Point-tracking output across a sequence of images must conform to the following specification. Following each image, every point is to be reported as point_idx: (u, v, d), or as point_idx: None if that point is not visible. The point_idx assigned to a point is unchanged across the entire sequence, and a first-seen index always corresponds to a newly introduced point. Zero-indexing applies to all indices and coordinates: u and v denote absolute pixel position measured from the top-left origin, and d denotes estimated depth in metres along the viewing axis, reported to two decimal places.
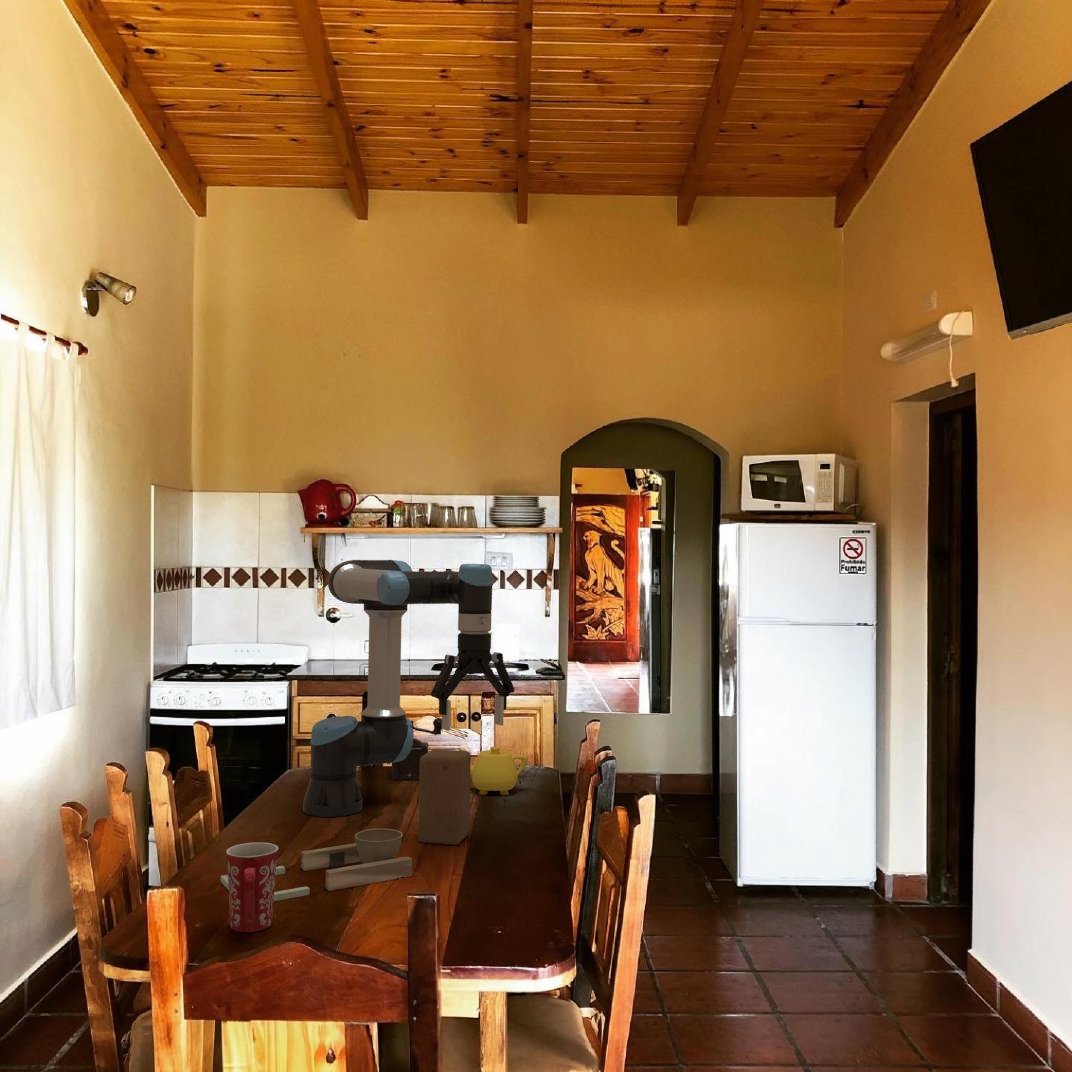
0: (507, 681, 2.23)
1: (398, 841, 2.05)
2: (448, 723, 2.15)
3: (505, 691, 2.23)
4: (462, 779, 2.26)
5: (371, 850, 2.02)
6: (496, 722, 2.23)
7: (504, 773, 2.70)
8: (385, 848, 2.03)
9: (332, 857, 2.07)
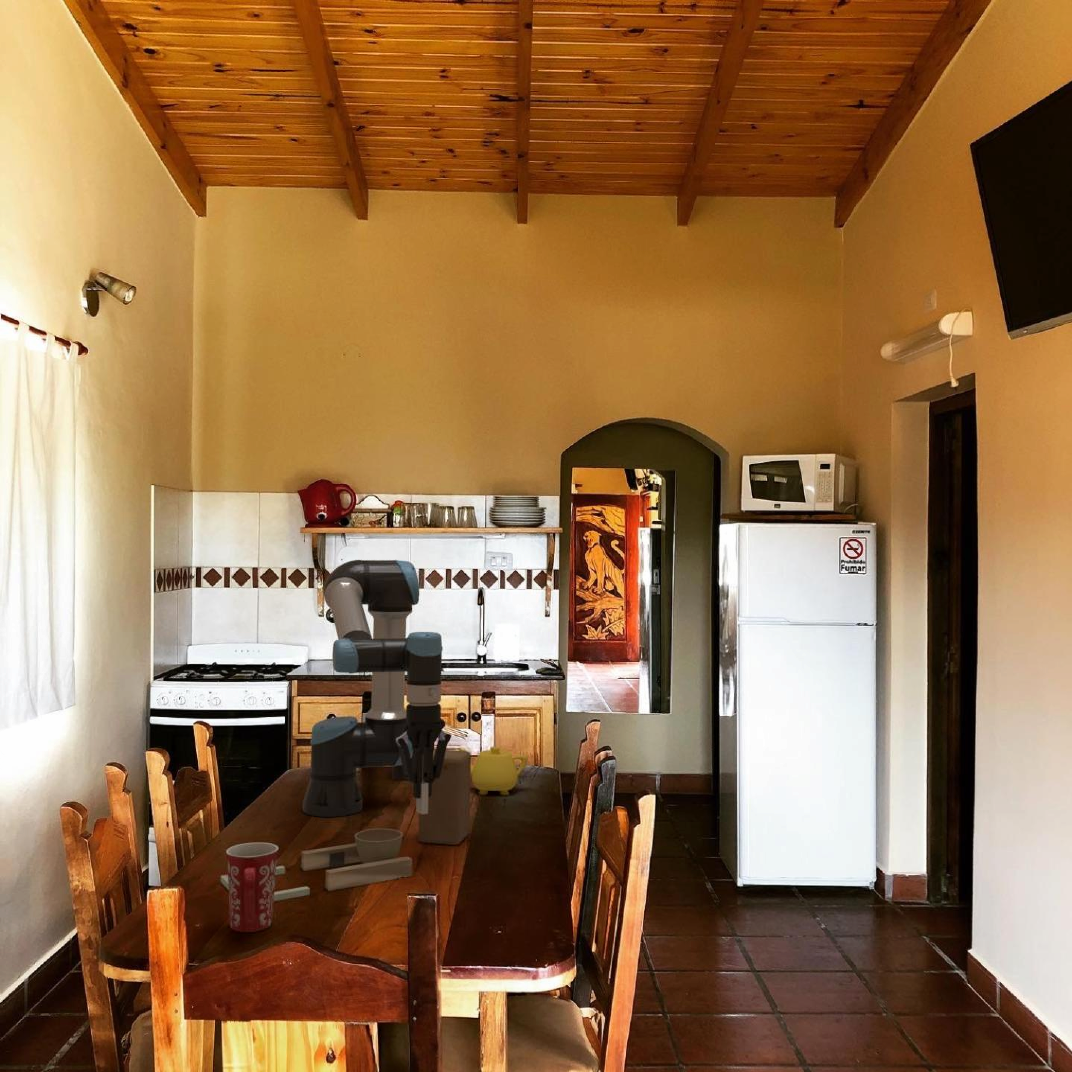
0: (439, 764, 2.13)
1: (398, 841, 2.05)
2: (422, 806, 2.11)
3: (431, 777, 2.12)
4: (462, 779, 2.26)
5: (371, 850, 2.02)
6: None
7: (504, 773, 2.70)
8: (385, 848, 2.03)
9: (332, 857, 2.07)
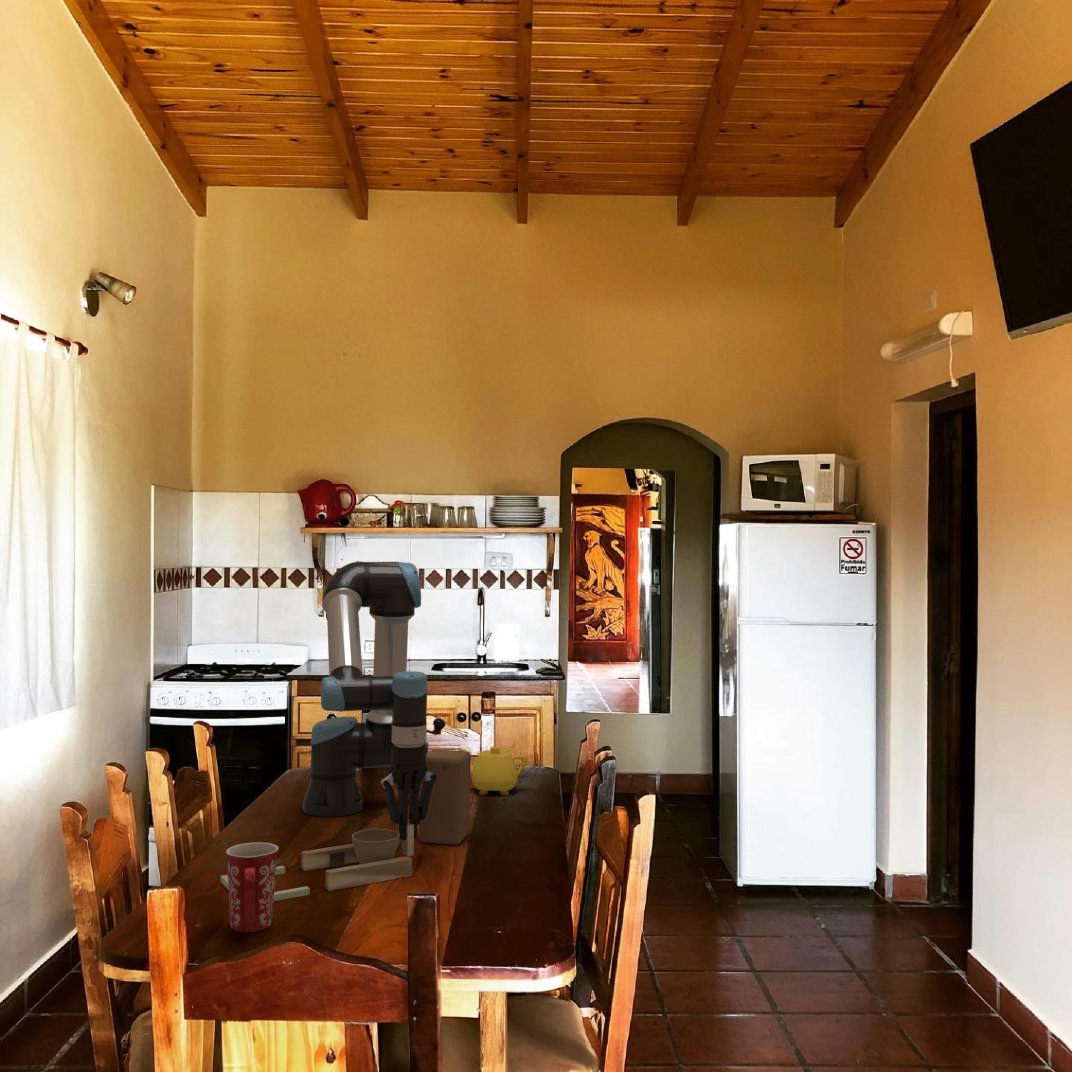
0: (424, 805, 2.12)
1: (395, 841, 2.04)
2: (408, 848, 2.09)
3: (416, 819, 2.10)
4: (462, 779, 2.26)
5: (368, 851, 2.02)
6: None
7: (504, 773, 2.70)
8: (382, 848, 2.02)
9: (332, 857, 2.07)
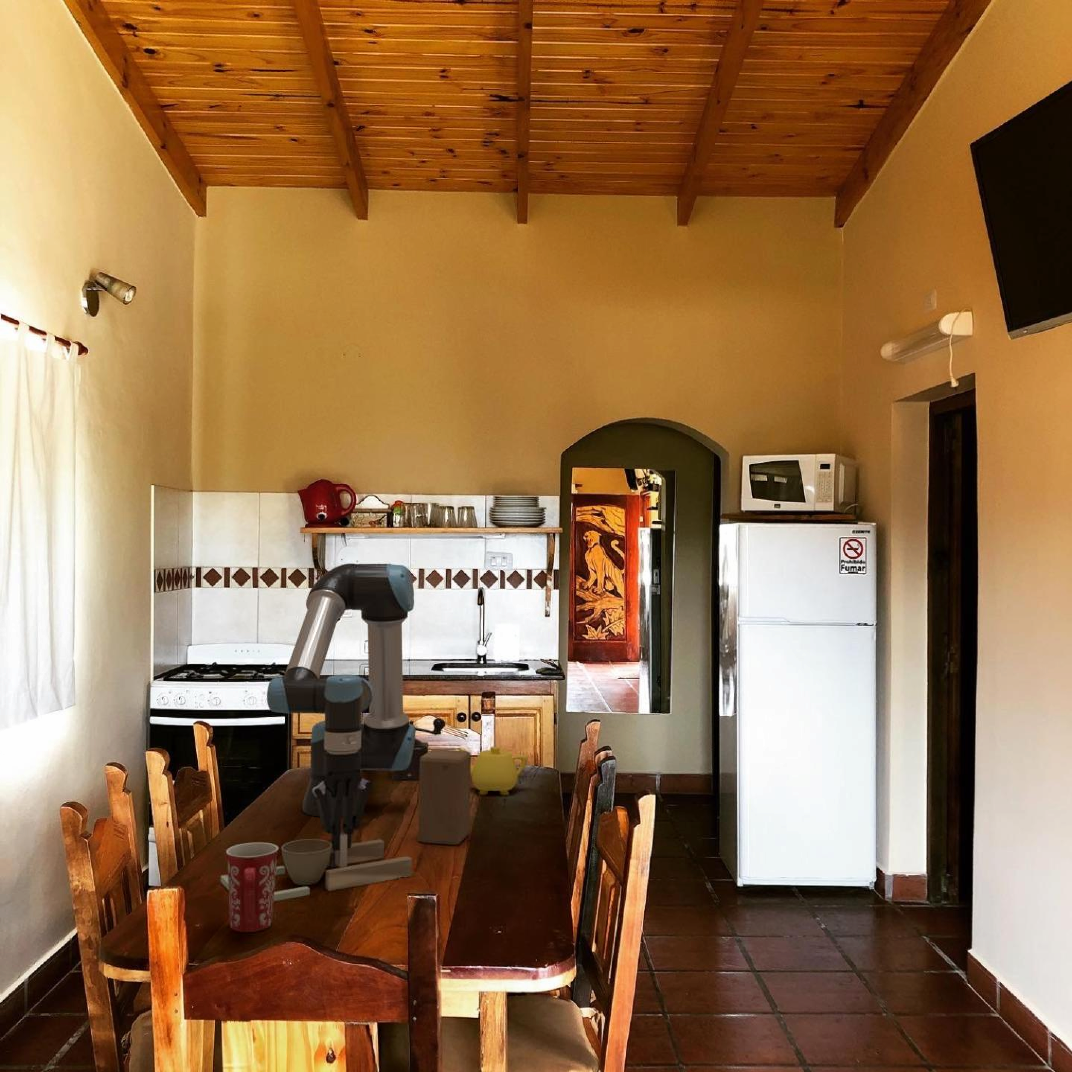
0: (359, 814, 2.03)
1: (325, 853, 1.96)
2: (341, 859, 2.01)
3: (350, 828, 2.02)
4: (462, 779, 2.26)
5: (296, 862, 1.94)
6: None
7: (504, 773, 2.70)
8: (311, 860, 1.94)
9: (332, 857, 2.07)
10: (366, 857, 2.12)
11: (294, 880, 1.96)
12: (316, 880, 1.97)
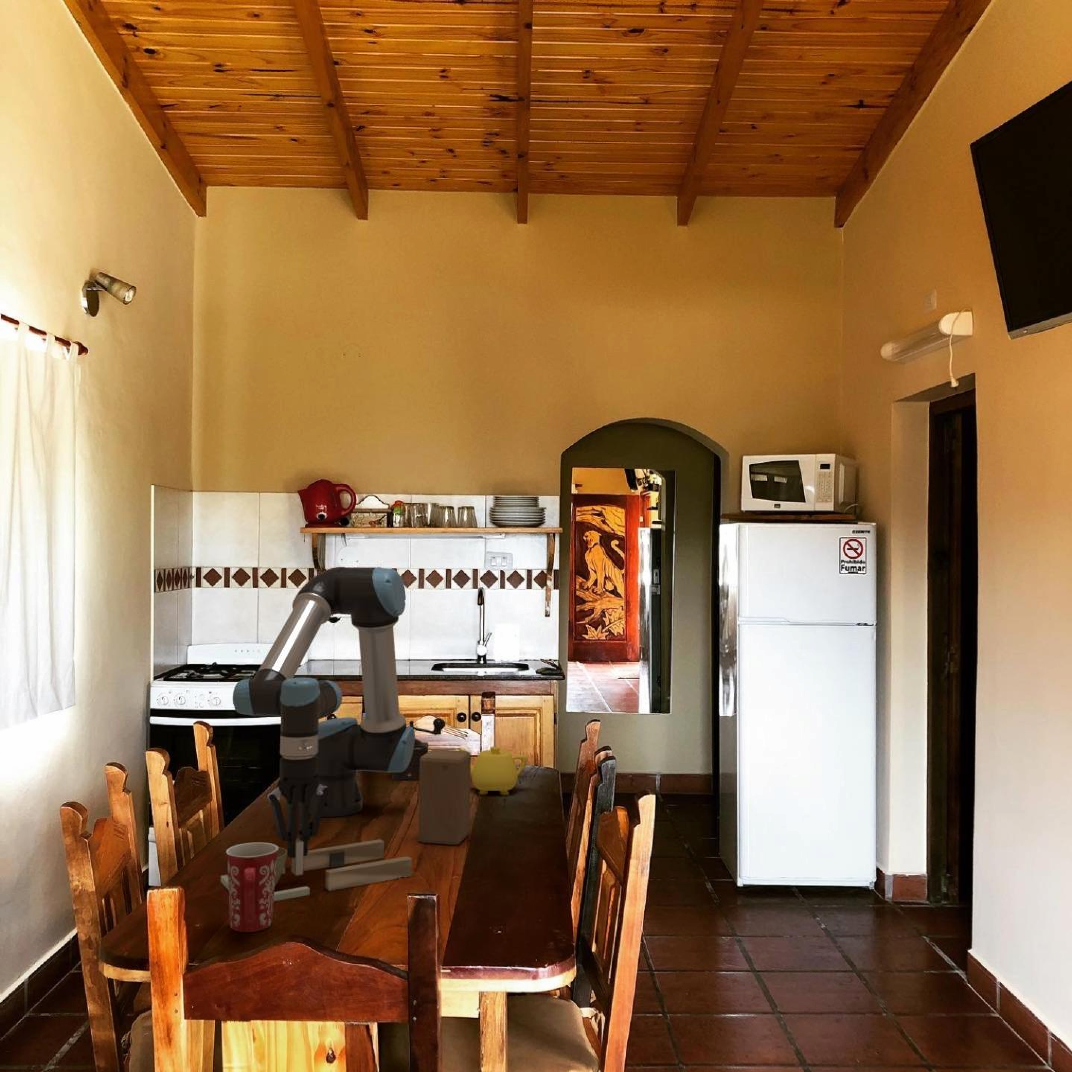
0: (316, 821, 1.98)
1: (279, 860, 1.91)
2: (297, 867, 1.96)
3: (307, 835, 1.97)
4: (462, 779, 2.26)
5: None
6: None
7: (504, 773, 2.70)
8: None
9: (332, 857, 2.07)
10: (366, 857, 2.12)
11: None
12: None
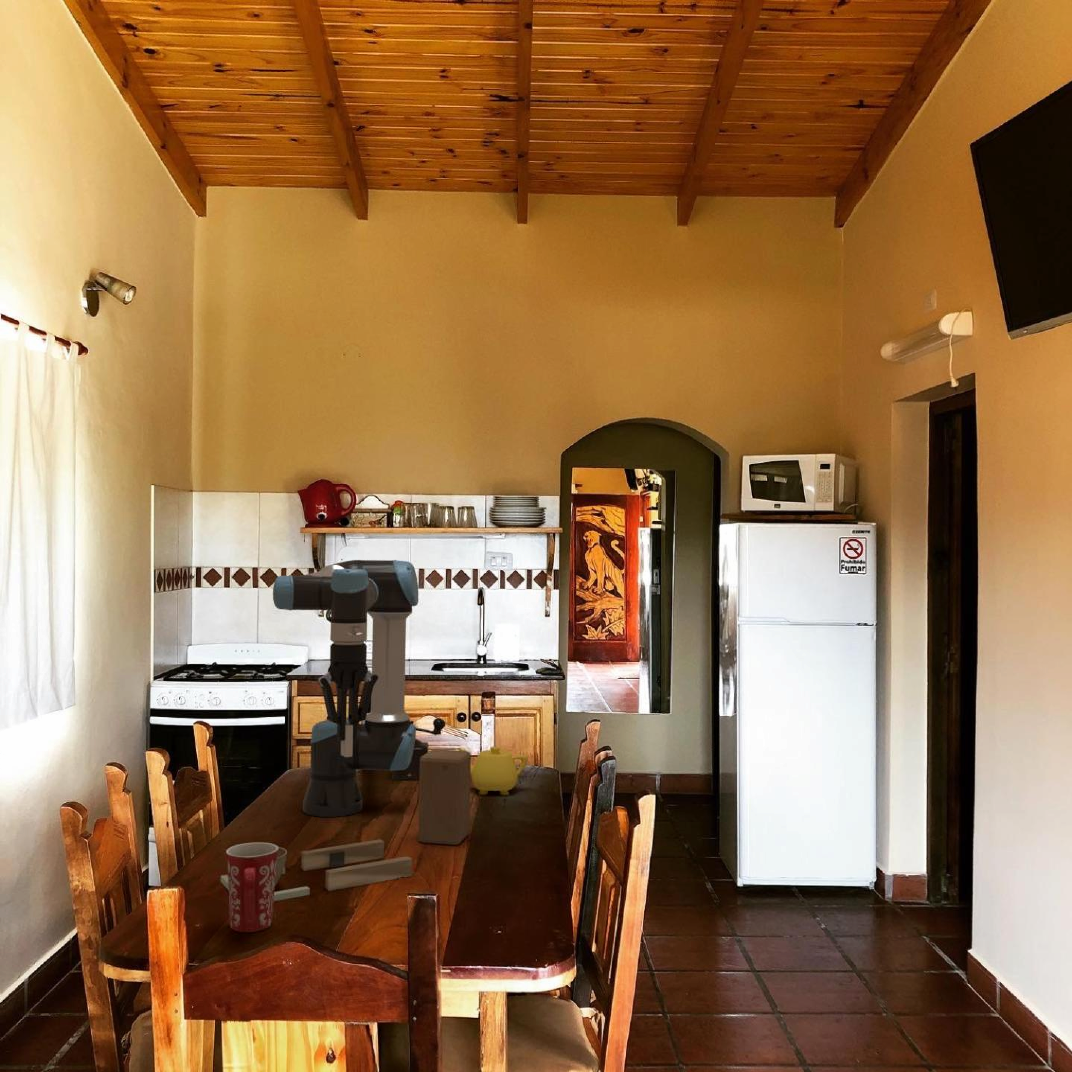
0: (364, 706, 2.05)
1: (279, 860, 1.91)
2: (346, 749, 2.03)
3: (356, 719, 2.04)
4: (462, 779, 2.26)
5: None
6: None
7: (504, 773, 2.70)
8: None
9: (332, 857, 2.07)
10: (366, 857, 2.12)
11: None
12: None
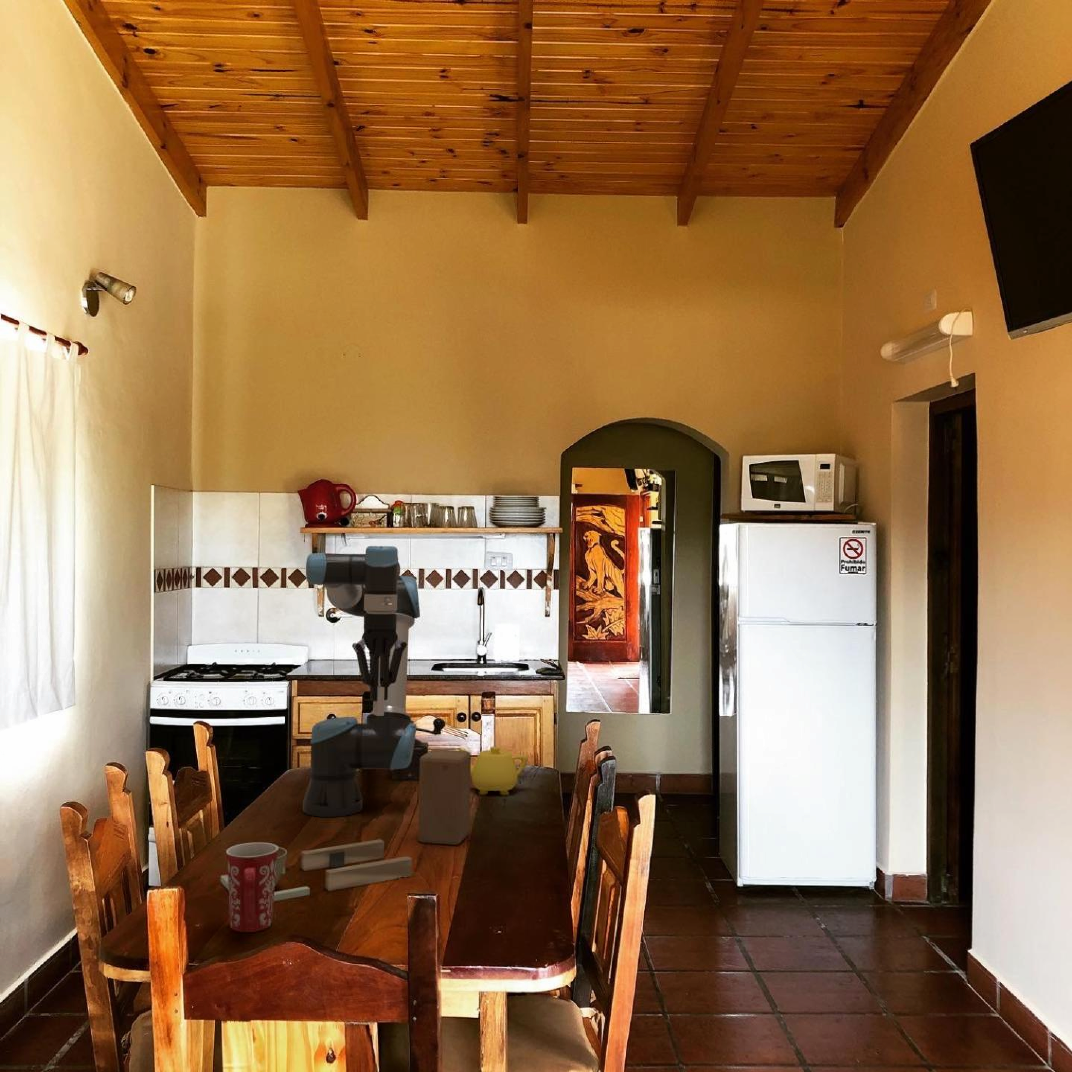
0: (394, 670, 2.27)
1: (279, 860, 1.91)
2: (378, 708, 2.24)
3: (387, 682, 2.25)
4: (462, 779, 2.26)
5: None
6: None
7: (504, 773, 2.70)
8: None
9: (332, 857, 2.07)
10: (366, 857, 2.12)
11: None
12: None
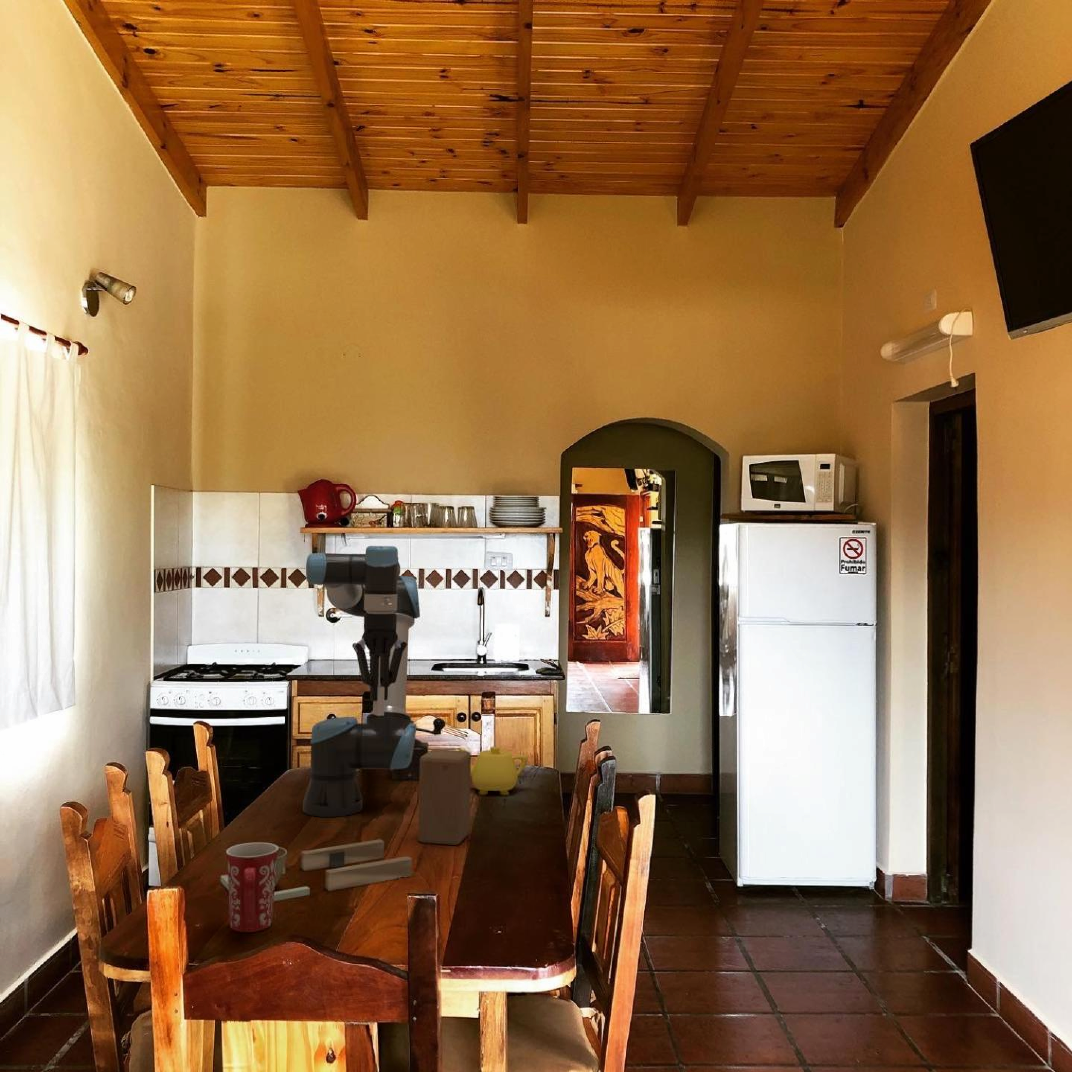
0: (394, 670, 2.27)
1: (279, 860, 1.91)
2: (378, 708, 2.24)
3: (387, 682, 2.25)
4: (462, 779, 2.26)
5: None
6: None
7: (504, 773, 2.70)
8: None
9: (332, 857, 2.07)
10: (366, 857, 2.12)
11: None
12: None
